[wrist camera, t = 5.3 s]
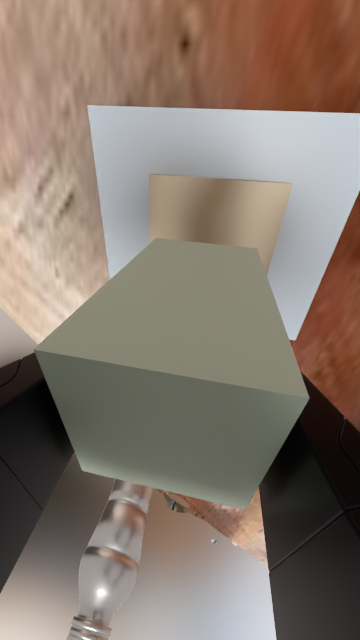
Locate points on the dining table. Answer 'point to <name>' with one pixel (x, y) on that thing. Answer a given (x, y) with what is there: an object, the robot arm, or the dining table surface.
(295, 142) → the board
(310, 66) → the dining table surface
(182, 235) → the foundation slab
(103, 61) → the dining table surface
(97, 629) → the plastic bottle
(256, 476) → the block
